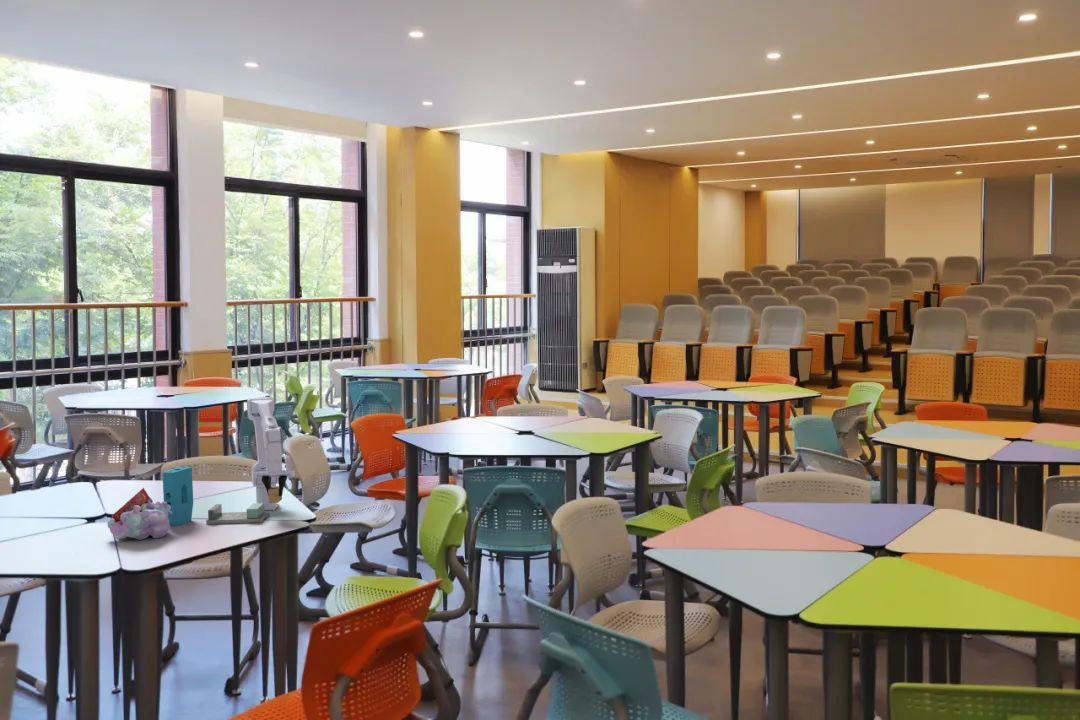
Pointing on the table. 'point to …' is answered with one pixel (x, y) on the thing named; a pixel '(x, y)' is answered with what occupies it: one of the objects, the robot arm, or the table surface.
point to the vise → (231, 516)
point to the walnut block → (274, 495)
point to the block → (178, 494)
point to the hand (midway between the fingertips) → (275, 495)
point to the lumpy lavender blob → (140, 518)
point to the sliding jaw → (255, 510)
